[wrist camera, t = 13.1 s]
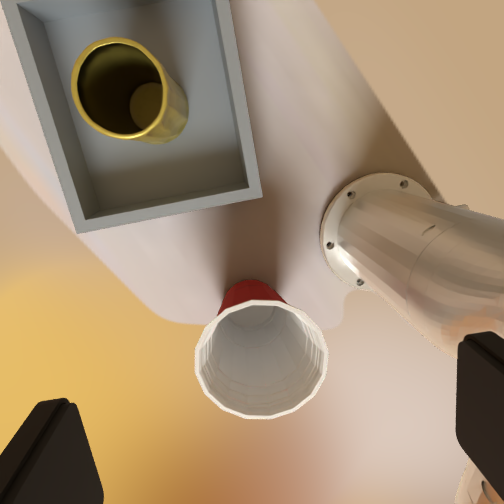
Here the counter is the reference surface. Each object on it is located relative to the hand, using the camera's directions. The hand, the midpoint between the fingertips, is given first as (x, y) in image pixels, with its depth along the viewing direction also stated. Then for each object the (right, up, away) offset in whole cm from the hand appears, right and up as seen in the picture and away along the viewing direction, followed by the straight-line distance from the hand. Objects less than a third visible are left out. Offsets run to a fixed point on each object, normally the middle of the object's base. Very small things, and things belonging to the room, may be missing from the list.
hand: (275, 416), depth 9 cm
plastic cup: (-1, -2, +33) cm, 33 cm away
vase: (-9, +17, +25) cm, 32 cm away
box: (-10, +17, +26) cm, 33 cm away
